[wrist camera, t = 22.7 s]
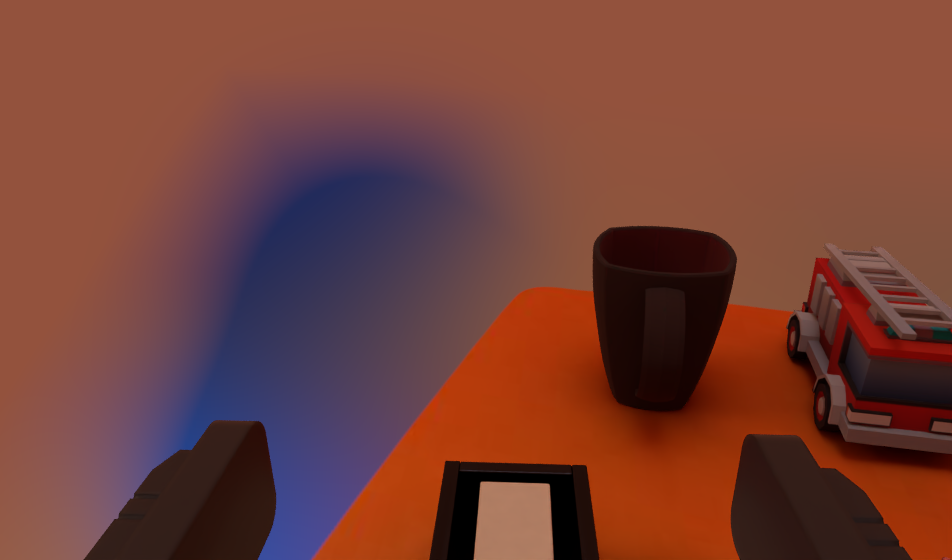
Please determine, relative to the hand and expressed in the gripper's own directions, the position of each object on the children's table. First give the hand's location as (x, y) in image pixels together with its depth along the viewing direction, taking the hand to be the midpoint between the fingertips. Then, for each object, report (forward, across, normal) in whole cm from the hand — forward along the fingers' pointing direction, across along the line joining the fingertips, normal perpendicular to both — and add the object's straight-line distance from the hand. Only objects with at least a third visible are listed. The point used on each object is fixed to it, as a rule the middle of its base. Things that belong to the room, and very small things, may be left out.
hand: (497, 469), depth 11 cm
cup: (+34, -11, +22) cm, 42 cm away
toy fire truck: (+36, -27, +22) cm, 50 cm away
